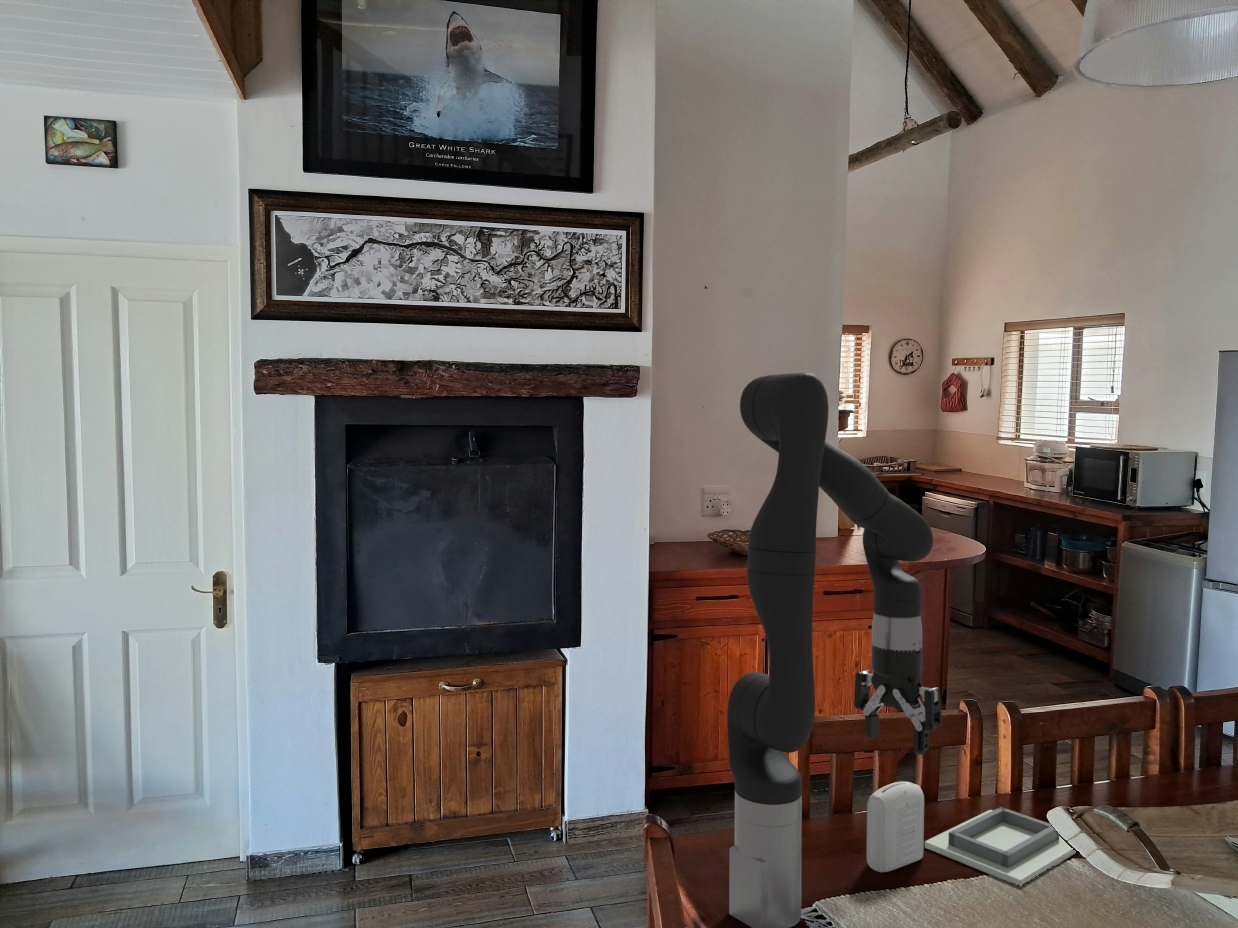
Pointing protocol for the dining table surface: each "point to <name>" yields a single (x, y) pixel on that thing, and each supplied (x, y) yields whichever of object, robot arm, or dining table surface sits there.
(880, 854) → the grey rounded block
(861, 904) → the dining table surface
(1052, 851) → the dock
